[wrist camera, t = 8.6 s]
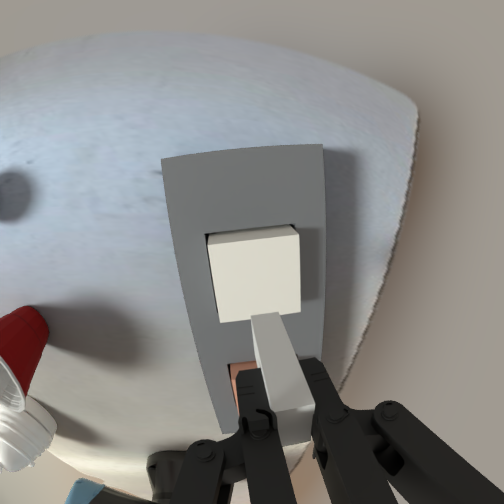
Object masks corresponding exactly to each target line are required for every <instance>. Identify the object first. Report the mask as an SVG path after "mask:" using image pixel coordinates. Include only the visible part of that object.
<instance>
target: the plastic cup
mask: <svg viewBox="0 0 504 504" xmlns="http://www.w3.org/2000/svg"><path fill="white" fill-rule="evenodd" d="M48 336H49V330H48V326H47V324H46V322H45V320H44V318H43V317H42V316H41V315H40V313H39V312H38V311H36V310H35V309H34V308H32V307H29V306H23V307H20V308H18V309H16V310H15V311H13V312H11V313H10V314H7V315H5V316H3V317H2V318H0V404H2V405H3V406H5V407H6V408H8V409H9V410H12V411H15V412H19V413H20V412H21V411H23V410H25V407H26V396H27V392H28V390H29V387H30V383H31V380H32V378H33V375H34V373H35V370H36V368H37V365H38V363H39V360H40V358H41V356H42V352H43V349H44V347H45V345H46V343H47V340H48Z"/></svg>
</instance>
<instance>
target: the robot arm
mask: <svg viewBox="0 0 504 504" xmlns="http://www.w3.org/2000/svg"><path fill="white" fill-rule="evenodd" d="M251 325H252V334H253V343H254V351H255V358H256V362H257V367H258V368H255V369H248V370H240V371H239V372H238V374H237V376H236V378H235V382H236V391H237V400H238V408H239V419H238V425H239V429H238V430H237V432H236V433H235V434H234V435H232V436H231V437H229V438H227V439H224V440H222V441H219V442H216V441H213V440H209V439H207V440H199V441H196V442H194V443H193V444H192V445H190V446H189V448H188V450H187V452H179V451H165V452H158V453H154V454H152V455H150V456H149V457H148V459H147V466H146V468H147V473H148V477H149V481H150V484H151V488H152V491H153V497H152V501H149V500H146V499H142V498H139V497H135V496H132V495H129V494H126V493H123V492H120V491H117V490H115V489H112V488H109V487H107V486H105V485H104V484H99V483H96V482H93V481H90V480H88V479H85V478H80V479H77V480H76V481H75V483H74V484H73V487H72V489H71V491H70V493H69V495H68V497H67V500H66V502H65V504H230V501H231V497H232V492H233V487H234V483H235V482H238V481H241V480H243V479H246V478H247V483H248V489H249V496H250V502H251V504H297V502H296V498H295V494H294V491H293V487H292V483H291V479H290V475H289V471H288V468H287V464H286V460H285V456H284V452H283V448H282V447H284V446H289V445H294V444H299V443H303V442H307V441H311V435H312V438H313V441H314V449H313V459H315V457H316V459H317V462H318V464H319V467H320V470H321V473H322V476H323V479H324V482H325V485H326V488H327V491H328V494H329V497H330V500H331V503H332V504H398V502H397V500H396V498H395V496H394V494H393V492H392V490H391V487H390V486H389V483H390V484H391V485H392V486H393V487H394V488H395V489H396V490H397V491H398V492H399V493H400V494H401V495H402V496H403V498H404V499H405V500H406V501H407V502H408V503H409V504H504V493H503V492H502V491H501V490H500V489H499V488H498V487H496V486H495V485H494V484H493V483H492V482H490V481H489V480H488V479H487V478H486V477H484V476H483V475H482V474H481V473H480V472H479V471H477V470H476V469H475V468H474V467H473V466H471V465H470V464H469V463H468V462H467V461H466V460H465V459H463V458H462V457H461V456H460V455H459V454H457V453H456V452H455V451H454V450H453V449H452V448H451V447H449V446H448V445H447V444H446V443H445V442H444V441H443V440H441V439H440V438H439V437H438V436H437V435H436V434H434V433H433V432H432V431H431V430H430V429H429V428H428V427H427V426H425V425H424V424H423V423H422V422H421V421H420V420H418V419H417V418H416V417H415V416H414V415H413V414H412V413H411V412H409V411H408V410H407V409H406V408H405V407H404V406H403V405H402V404H400V403H398V402H396V401H391V400H390V401H384V402H381V403H379V404H378V405H377V406H376V407H375V409H374V410H355V409H351V408H349V407H348V406H346V405H344V404H343V402H342V401H341V399H340V397H339V395H338V393H337V391H336V389H335V387H334V385H333V383H332V381H331V379H330V377H329V375H328V373H327V372H326V369H325V367H324V365H323V363H322V362H320V361H319V360H318V359H317V358H315V357H313V358H308V359H303V360H298V359H297V357H296V354H295V352H294V349H293V347H292V344H291V342H290V339H289V337H288V334H287V332H286V329H285V327H284V324H283V322H282V319H281V317H280V314H279V312H272V313H265V314H258V315H251ZM387 480H388V481H389V483H388V481H387Z"/></svg>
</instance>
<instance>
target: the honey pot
mask: <svg viewBox="0 0 504 504" xmlns="http://www.w3.org/2000/svg"><path fill="white" fill-rule="evenodd" d="M56 429H57V423H56V421H55V420H54V418H53V417H52V416H51V414H50V413H49V412H48V411H47V410H46V409H45V408H44V407H43V406H41V405H40V404H39V403H38V402H37V401H35V400H34V399H33V398H31V397H30V396H28V395H27V396H26V407H25V410H23V411H21V412H20V413H19V412H15V411H12V410H9V409H8V408H6V407H5V406H3V405H2V404H0V473H2V468H4V469H5V470H7V471H9V472H16V471H19V470H21V469H23V468H25V467H26V466H31V467H34V465H35V463H34V460H35V459H36V458H37V457H39V456H41V453H43V452H44V451H45V449H47V448H49V446H50V444H51V442H52V439H53V437H54V434H55V432H56Z"/></svg>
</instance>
